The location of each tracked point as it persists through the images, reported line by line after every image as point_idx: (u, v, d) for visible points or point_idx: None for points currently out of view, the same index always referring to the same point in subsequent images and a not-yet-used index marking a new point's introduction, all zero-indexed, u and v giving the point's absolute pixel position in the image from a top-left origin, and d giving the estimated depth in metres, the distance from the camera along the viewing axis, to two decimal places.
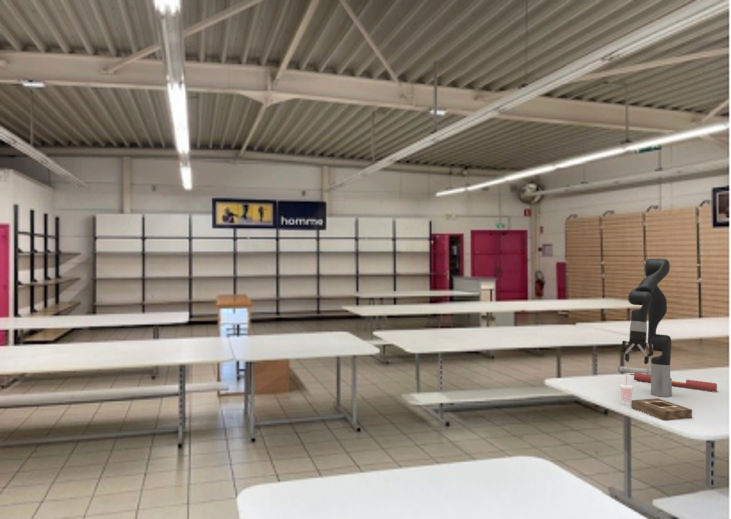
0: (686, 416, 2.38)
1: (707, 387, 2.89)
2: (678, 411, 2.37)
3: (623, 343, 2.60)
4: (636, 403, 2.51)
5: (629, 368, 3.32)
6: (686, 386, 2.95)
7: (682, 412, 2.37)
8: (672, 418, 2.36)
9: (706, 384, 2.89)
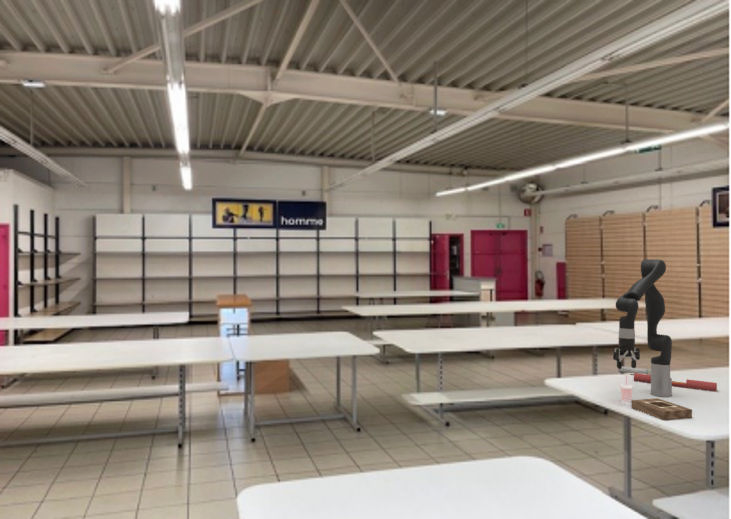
0: (686, 416, 2.38)
1: (708, 387, 2.89)
2: (678, 411, 2.37)
3: (617, 351, 2.60)
4: (636, 403, 2.51)
5: (629, 368, 3.32)
6: (686, 386, 2.96)
7: (682, 412, 2.37)
8: (672, 418, 2.36)
9: (706, 384, 2.90)
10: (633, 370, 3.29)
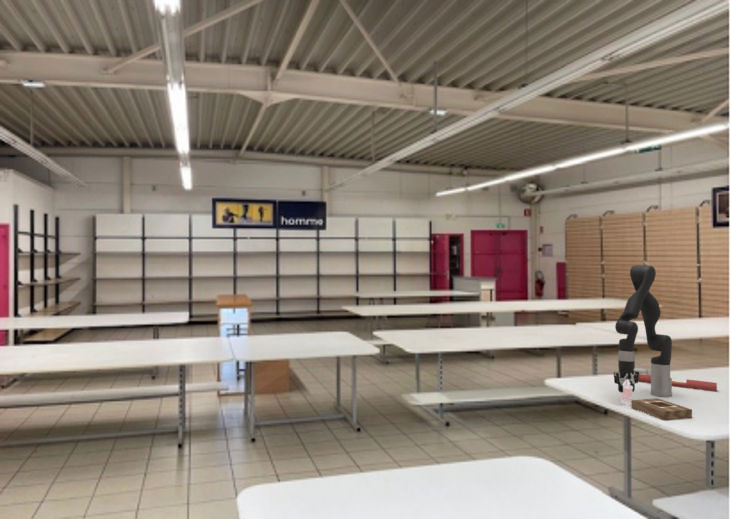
0: (686, 416, 2.38)
1: (708, 387, 2.89)
2: (678, 411, 2.37)
3: (618, 375, 2.60)
4: (636, 403, 2.51)
5: None
6: (686, 386, 2.96)
7: (682, 412, 2.37)
8: (672, 418, 2.36)
9: (707, 384, 2.90)
10: None
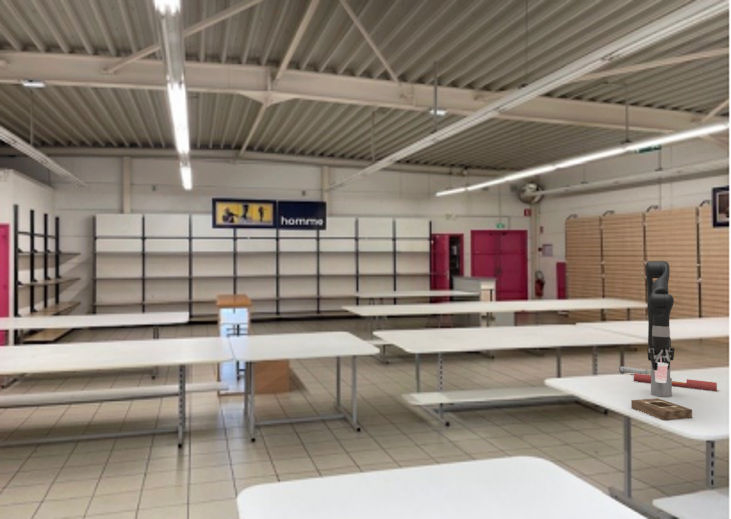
0: (686, 416, 2.38)
1: (708, 386, 2.90)
2: (678, 411, 2.37)
3: (652, 352, 2.44)
4: (636, 403, 2.51)
5: (629, 368, 3.32)
6: (687, 386, 2.96)
7: (682, 412, 2.37)
8: (672, 418, 2.36)
9: (707, 383, 2.91)
10: (633, 370, 3.29)
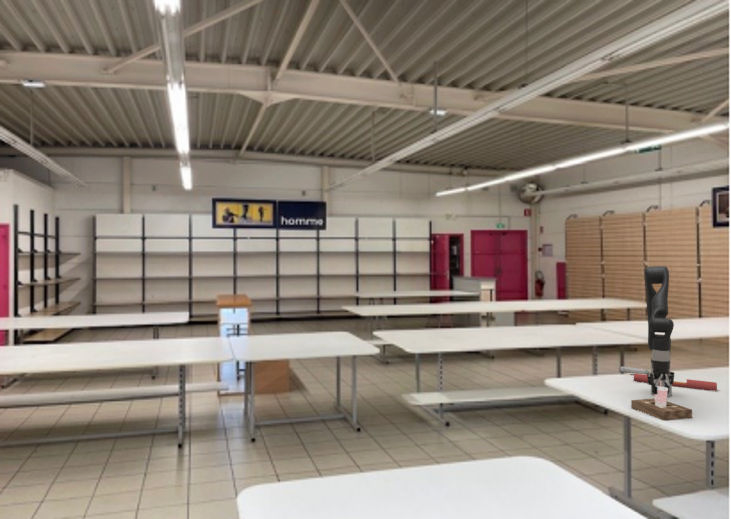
0: (686, 416, 2.38)
1: (708, 386, 2.90)
2: (678, 411, 2.37)
3: (652, 376, 2.44)
4: (636, 403, 2.51)
5: (629, 368, 3.32)
6: (687, 386, 2.96)
7: (682, 412, 2.37)
8: (672, 418, 2.36)
9: (707, 383, 2.91)
10: (633, 370, 3.29)
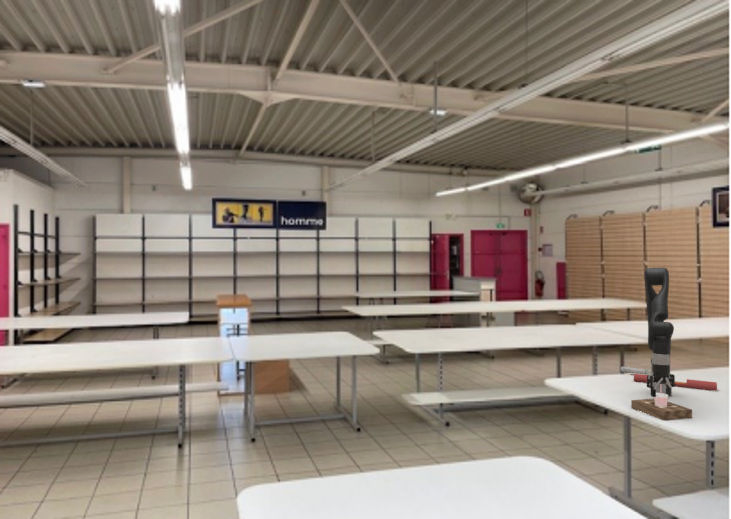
0: (686, 416, 2.38)
1: (708, 386, 2.90)
2: (678, 411, 2.37)
3: (652, 379, 2.44)
4: (636, 403, 2.51)
5: (629, 368, 3.32)
6: (687, 386, 2.96)
7: (682, 412, 2.37)
8: (672, 418, 2.36)
9: (707, 383, 2.91)
10: (633, 370, 3.29)
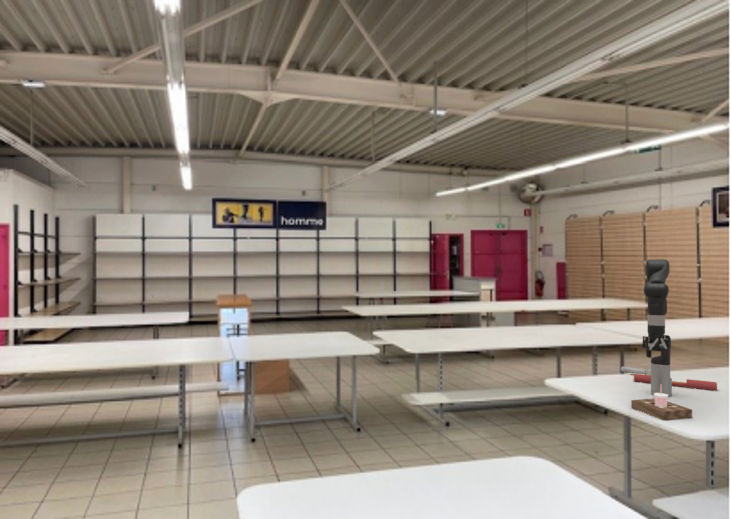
0: (686, 416, 2.38)
1: (708, 386, 2.90)
2: (678, 411, 2.37)
3: (647, 339, 2.47)
4: (636, 403, 2.51)
5: (629, 368, 3.32)
6: (687, 386, 2.96)
7: (682, 412, 2.37)
8: (672, 418, 2.36)
9: (707, 383, 2.91)
10: (633, 370, 3.29)
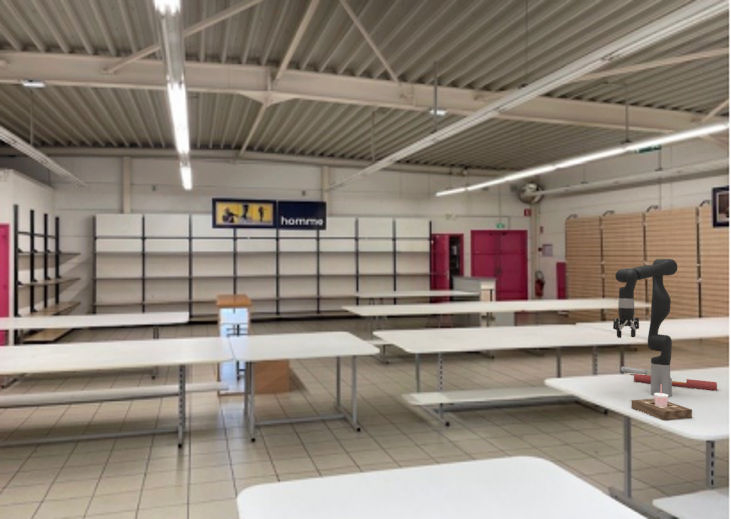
0: (686, 416, 2.38)
1: (708, 386, 2.91)
2: (678, 411, 2.37)
3: (617, 321, 2.67)
4: (636, 403, 2.51)
5: (630, 368, 3.31)
6: (687, 386, 2.96)
7: (682, 412, 2.37)
8: (672, 418, 2.36)
9: (707, 383, 2.91)
10: (633, 370, 3.28)
